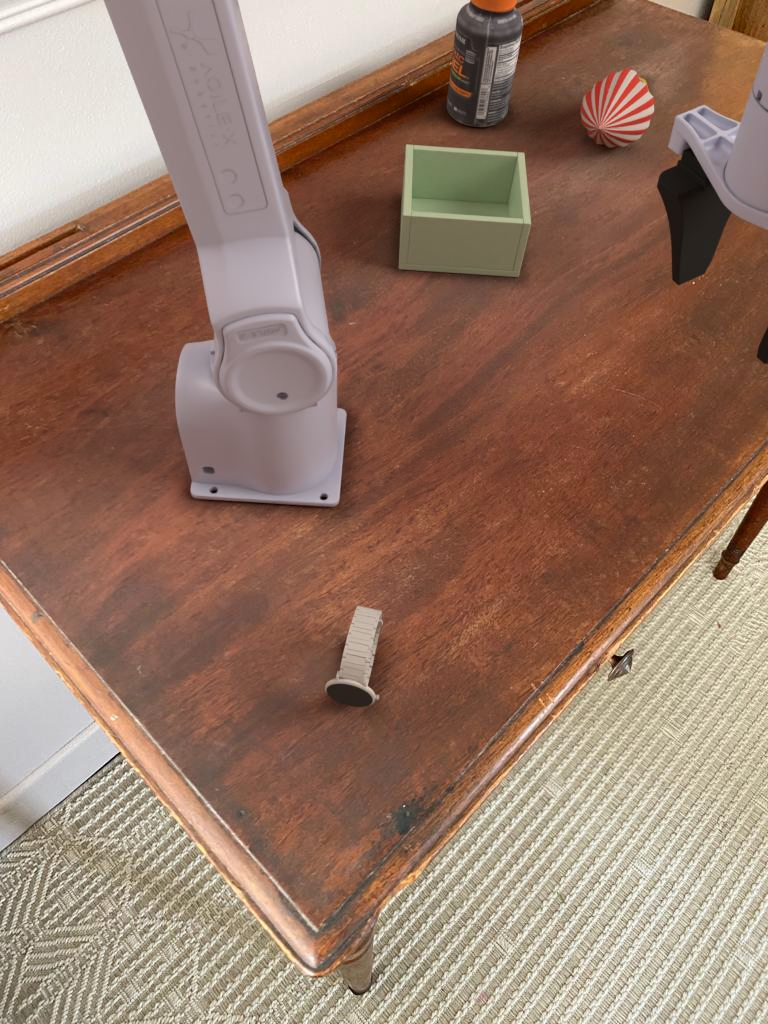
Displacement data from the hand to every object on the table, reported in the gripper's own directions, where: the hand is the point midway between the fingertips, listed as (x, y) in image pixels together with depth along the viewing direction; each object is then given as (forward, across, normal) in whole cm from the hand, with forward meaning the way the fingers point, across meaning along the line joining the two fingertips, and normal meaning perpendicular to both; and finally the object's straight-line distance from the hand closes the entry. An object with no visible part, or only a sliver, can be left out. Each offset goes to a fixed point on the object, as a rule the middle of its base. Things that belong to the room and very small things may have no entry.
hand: (729, 314), depth 48 cm
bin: (+9, +24, +5) cm, 26 cm away
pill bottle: (+10, +40, -6) cm, 41 cm away
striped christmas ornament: (+11, +32, -18) cm, 38 cm away
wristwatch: (+8, -7, +29) cm, 31 cm away
